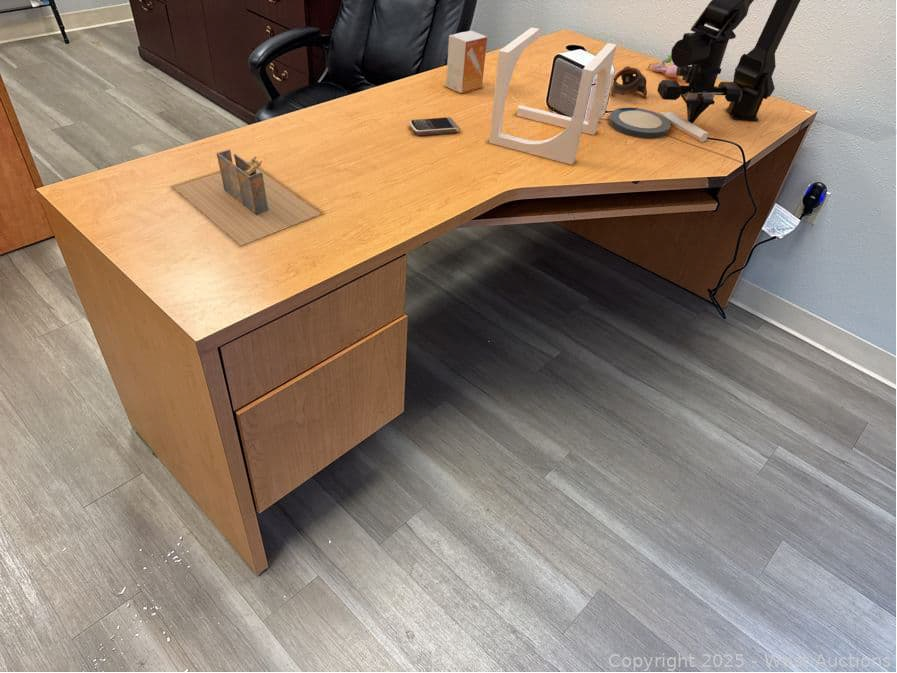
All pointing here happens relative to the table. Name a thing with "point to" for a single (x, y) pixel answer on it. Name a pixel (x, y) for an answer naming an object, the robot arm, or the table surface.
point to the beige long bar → (686, 126)
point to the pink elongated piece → (662, 68)
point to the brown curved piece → (629, 82)
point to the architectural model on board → (245, 200)
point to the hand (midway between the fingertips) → (688, 125)
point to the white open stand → (568, 139)
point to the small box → (466, 61)
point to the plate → (639, 122)
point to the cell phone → (434, 126)
